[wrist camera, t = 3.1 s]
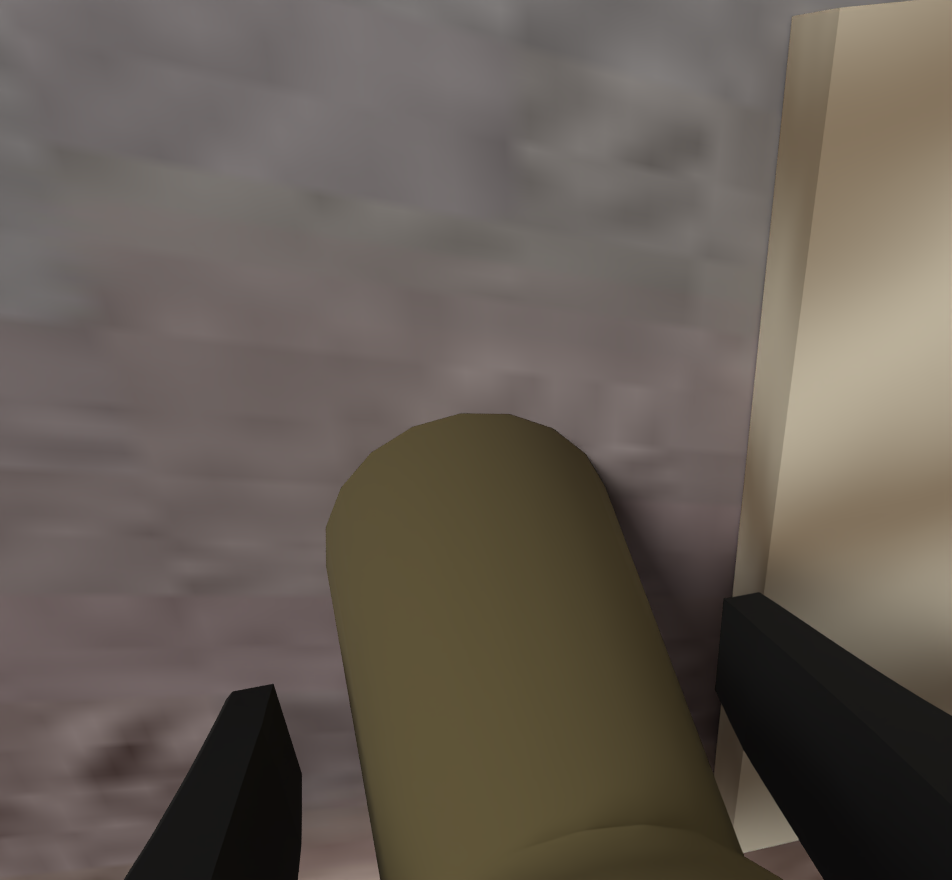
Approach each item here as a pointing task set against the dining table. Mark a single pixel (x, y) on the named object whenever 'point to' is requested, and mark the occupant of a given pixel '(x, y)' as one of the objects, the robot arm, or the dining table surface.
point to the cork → (513, 670)
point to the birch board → (855, 365)
